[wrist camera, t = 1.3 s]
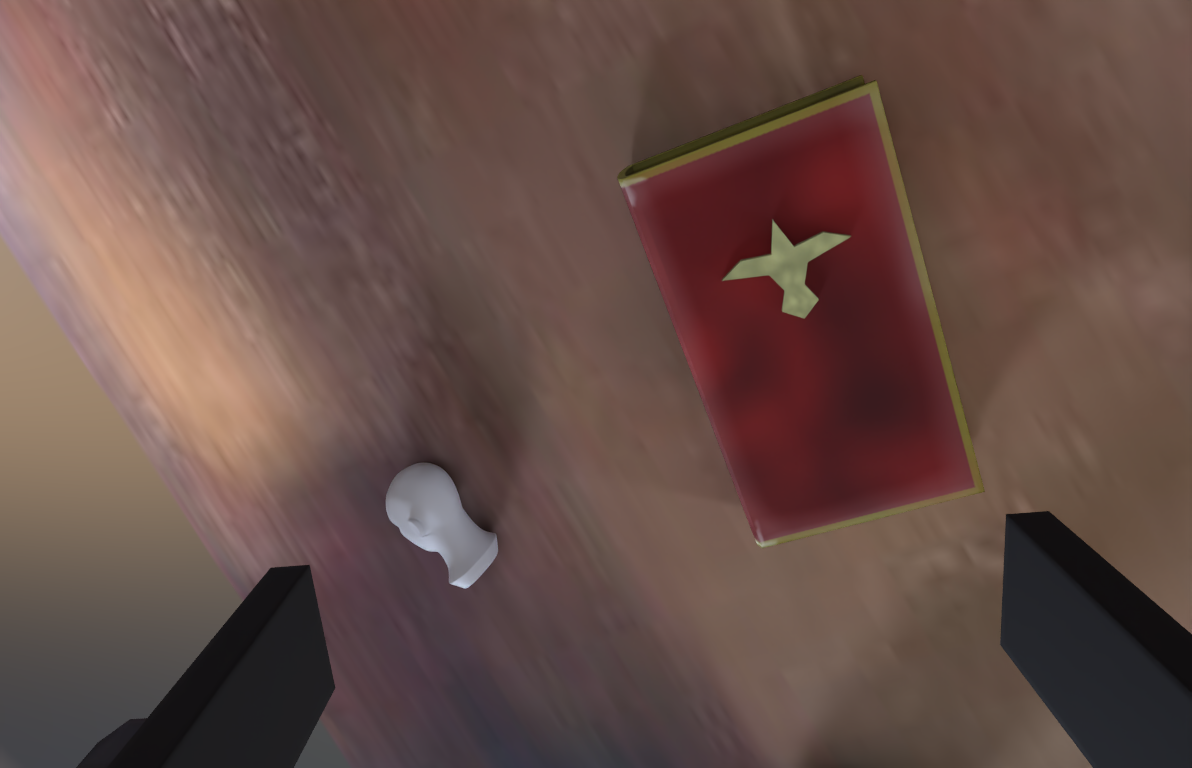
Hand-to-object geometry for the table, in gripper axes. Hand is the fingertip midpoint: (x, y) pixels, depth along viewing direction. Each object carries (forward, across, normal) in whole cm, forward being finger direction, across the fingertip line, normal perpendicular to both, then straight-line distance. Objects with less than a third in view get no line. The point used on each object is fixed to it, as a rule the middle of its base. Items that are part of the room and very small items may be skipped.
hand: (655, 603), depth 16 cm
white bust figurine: (+33, -12, -12) cm, 37 cm away
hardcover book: (+29, +9, -1) cm, 31 cm away
